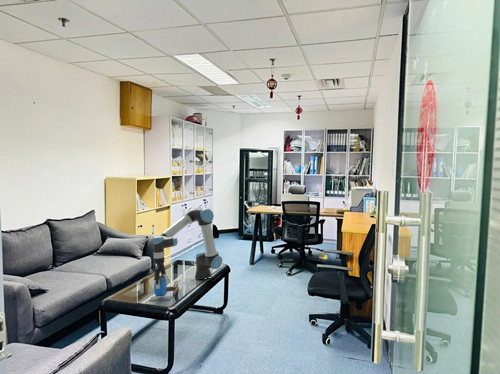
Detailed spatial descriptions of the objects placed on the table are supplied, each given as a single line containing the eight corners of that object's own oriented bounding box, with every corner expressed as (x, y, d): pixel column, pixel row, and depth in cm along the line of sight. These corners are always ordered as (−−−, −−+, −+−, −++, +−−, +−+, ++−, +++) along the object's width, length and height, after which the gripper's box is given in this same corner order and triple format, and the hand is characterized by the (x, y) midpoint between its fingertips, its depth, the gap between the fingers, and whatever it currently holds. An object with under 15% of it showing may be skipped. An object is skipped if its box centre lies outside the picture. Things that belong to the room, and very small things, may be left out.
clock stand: (178, 289, 270) (178, 286, 270) (174, 296, 255) (173, 293, 255) (166, 289, 270) (166, 286, 270) (161, 296, 255) (160, 293, 255)
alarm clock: (159, 293, 257) (158, 273, 256) (167, 292, 256) (166, 273, 256) (154, 299, 244) (153, 278, 243) (162, 298, 243) (161, 278, 243)
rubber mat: (173, 296, 254) (173, 295, 254) (170, 300, 246) (170, 299, 246) (152, 297, 254) (152, 296, 254) (148, 301, 246) (148, 300, 246)
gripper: (159, 261, 237) (160, 291, 237) (168, 253, 261) (170, 280, 262) (148, 261, 237) (150, 291, 238) (159, 253, 262) (160, 280, 262)
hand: (160, 285), depth 250 cm, fingers closed on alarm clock, 13 cm apart
